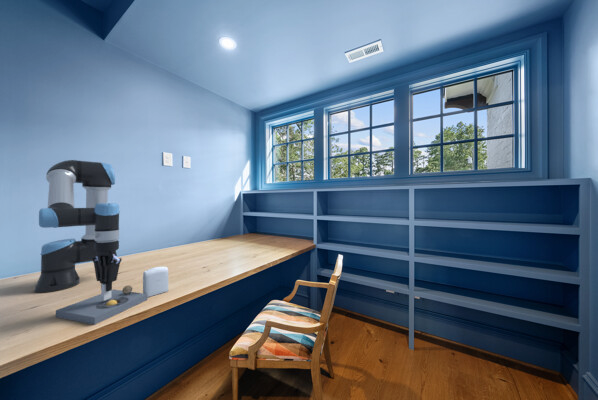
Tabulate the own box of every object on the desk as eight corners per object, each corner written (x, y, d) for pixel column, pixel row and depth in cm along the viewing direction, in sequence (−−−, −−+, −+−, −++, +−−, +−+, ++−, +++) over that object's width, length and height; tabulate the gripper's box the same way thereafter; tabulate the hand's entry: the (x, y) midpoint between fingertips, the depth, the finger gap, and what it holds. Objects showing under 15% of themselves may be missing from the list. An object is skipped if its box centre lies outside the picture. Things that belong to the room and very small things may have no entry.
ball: (103, 310, 86) (103, 301, 86) (112, 306, 89) (113, 297, 90) (109, 311, 85) (110, 302, 85) (119, 307, 89) (119, 299, 89)
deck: (55, 316, 81) (55, 310, 81) (113, 294, 101) (113, 289, 101) (94, 324, 76) (94, 317, 76) (147, 299, 96) (147, 294, 96)
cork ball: (120, 294, 95) (120, 286, 95) (128, 291, 98) (128, 283, 98) (126, 295, 94) (126, 287, 94) (134, 292, 97) (134, 284, 97)
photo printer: (144, 298, 97) (144, 271, 97) (141, 296, 99) (141, 269, 99) (169, 291, 104) (170, 265, 105) (166, 289, 107) (166, 264, 107)
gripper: (84, 241, 86) (83, 300, 86) (108, 243, 83) (108, 304, 83) (105, 238, 94) (104, 293, 94) (128, 240, 90) (128, 296, 90)
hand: (106, 298), depth 88 cm, fingers closed
